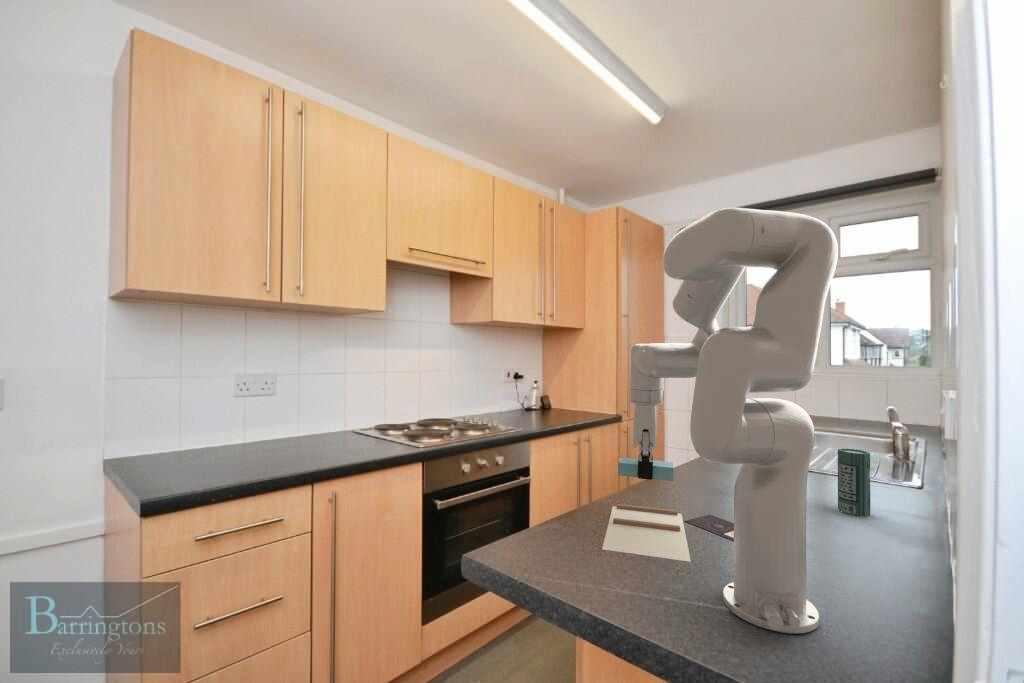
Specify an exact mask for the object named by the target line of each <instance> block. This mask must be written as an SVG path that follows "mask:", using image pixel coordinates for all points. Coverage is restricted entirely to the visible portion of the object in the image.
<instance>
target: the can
mask: <svg viewBox="0 0 1024 683" xmlns="http://www.w3.org/2000/svg"><path fill="white" fill-rule="evenodd" d="M838 509H839V510H838ZM837 510H838V511H839V512H841V511H842V512H843V514H845V513H846V515H848V516H853V515H855V516H854V517H860V516H862V517H863V516H864V517H863V518H866V516H867V517H871V453H870V452H869V451H866V450H862V449H857V448H856V449H855V448H838V449H837ZM842 512H841V513H842ZM851 514H852V515H851Z"/></svg>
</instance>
